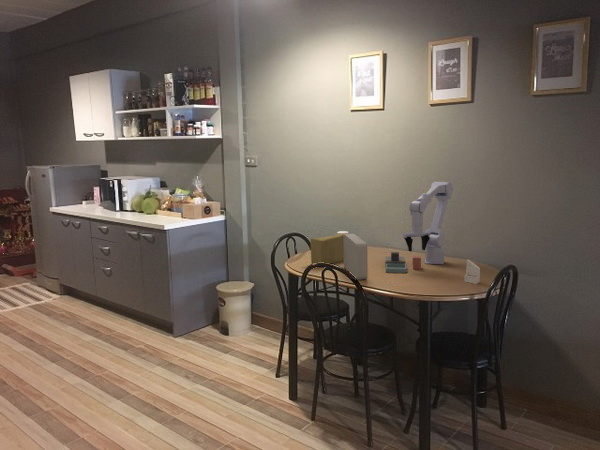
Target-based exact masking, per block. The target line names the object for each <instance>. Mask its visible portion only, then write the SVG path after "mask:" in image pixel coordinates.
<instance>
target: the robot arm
mask: <svg viewBox="0 0 600 450" xmlns="http://www.w3.org/2000/svg"><path fill="white" fill-rule="evenodd" d="M453 190H454V189H453V184H452V182H451V181H448V182H447V181H436V180H435V181H433V182H432V183H431V185H430V188H429V190H428V191H427V192H426V193H421V195H420V196H419V197H418V198H417V199H416V200H413V201H411V203H409V207H408V209H409V211H410V216H411V230H410V231H411V232H405V233H403V235H402V237H403V238H404V241H405V242H406V246H407V249H408V252H412V251H413V241H414V239H413V238H417V237H420V238H421V250H422V251H425V259H424V264H427V265H444V263H445V257H444V256H445V253H444V252H445V249H444V247H445V246H442V245H444V237H445V233H444V232H443V231H442V229H441V228H442V224H443V221H444V216H445V214H446V210H447V208H448V207H447V206H448V203H449V200H450V199H451V197H452V193H453ZM433 197H434V198H435V199H437V203H436V207H435V210H434V215H433V218H432V220H431V221H432V222H431V224H430V227H429V228H427V229H426V230H425V231H424V213H425V212H426V209H427V206H428V205H429V204H430V203H431V202H432V198H433Z"/></svg>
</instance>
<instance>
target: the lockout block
mask: <svg viewBox="0 0 600 450" xmlns="http://www.w3.org/2000/svg"><path fill="white" fill-rule="evenodd" d="M412 270H422V257H421V256H420V255H413V256H412Z"/></svg>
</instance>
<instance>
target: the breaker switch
mask: <svg viewBox="0 0 600 450" xmlns="http://www.w3.org/2000/svg"><path fill="white" fill-rule="evenodd" d="M390 252H391V253H390V257H391V261H399V257H400V251H390Z"/></svg>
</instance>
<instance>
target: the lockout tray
mask: <svg viewBox="0 0 600 450" xmlns="http://www.w3.org/2000/svg"><path fill="white" fill-rule="evenodd" d="M407 271H408V269H407V264H406V263H405V264H386V267H385V273H392V274H393V273H394V274H397V273H398V274H399V273H400V274H403V273H405V274H407Z"/></svg>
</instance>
